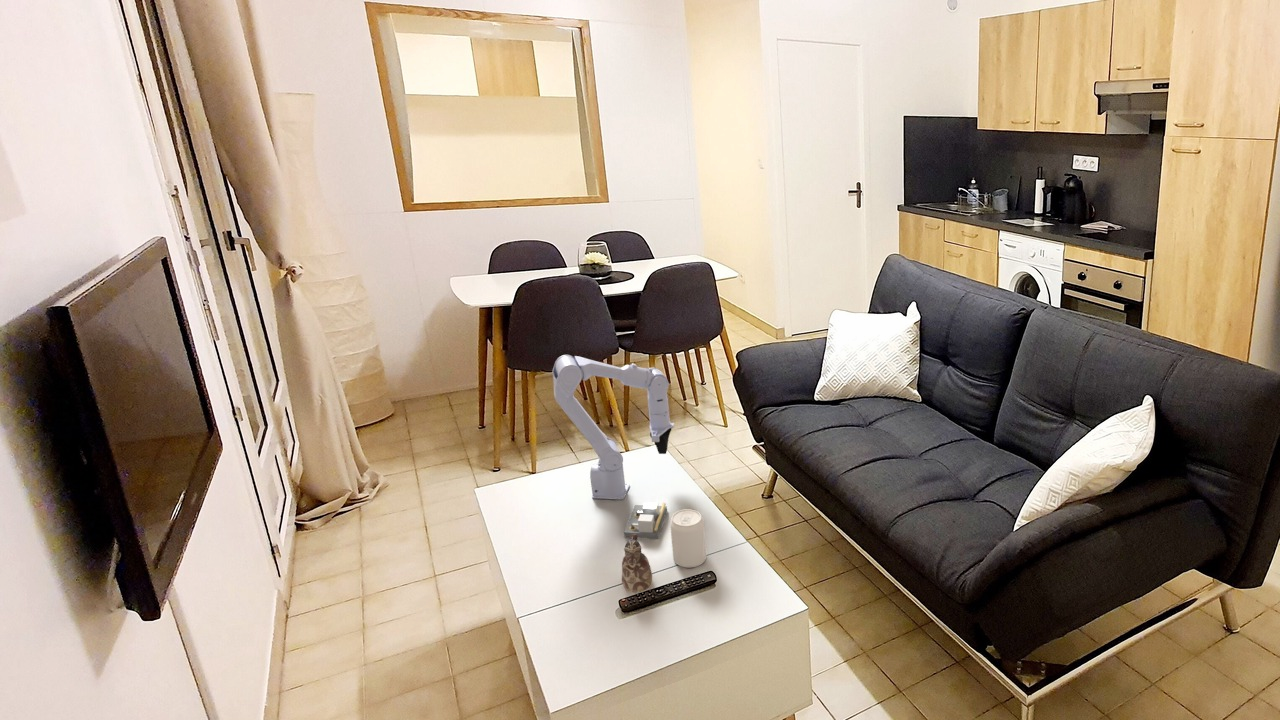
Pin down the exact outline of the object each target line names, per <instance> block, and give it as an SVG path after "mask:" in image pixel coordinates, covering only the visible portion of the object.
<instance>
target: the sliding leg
mask: <svg viewBox="0 0 1280 720" xmlns="http://www.w3.org/2000/svg"><path fill="white" fill-rule="evenodd" d="M643 505H644V506H643V511H637V512H636V515H639V514H646V515H654V518H655V519H657V517H658V514H659V507H658V506H659V502H647V501H646V502H644V503H643Z"/></svg>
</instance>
